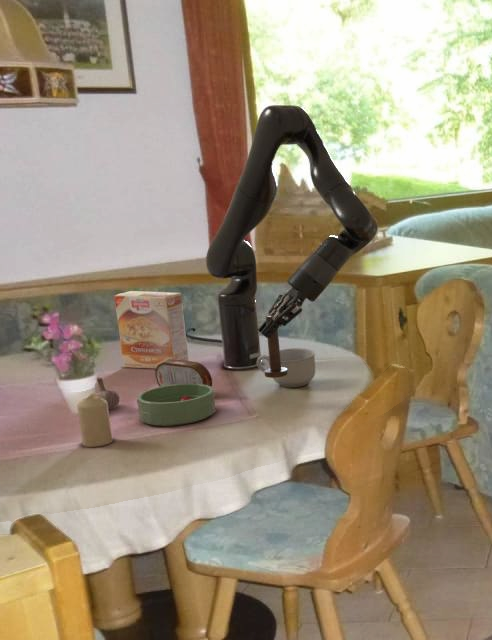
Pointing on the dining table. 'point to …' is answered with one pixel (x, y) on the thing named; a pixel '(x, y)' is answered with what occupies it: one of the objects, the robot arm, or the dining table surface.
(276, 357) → the muddler
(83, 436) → the candle
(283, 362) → the teacup
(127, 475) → the dining table surface
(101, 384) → the garlic bulb
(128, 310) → the coffeecake box
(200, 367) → the tin
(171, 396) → the bowl
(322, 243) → the robot arm
